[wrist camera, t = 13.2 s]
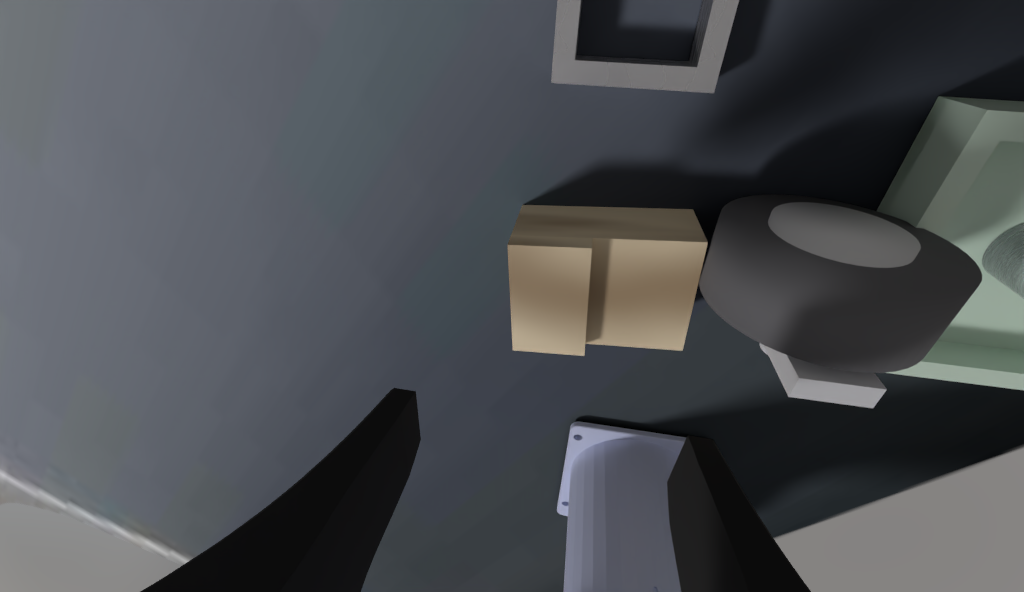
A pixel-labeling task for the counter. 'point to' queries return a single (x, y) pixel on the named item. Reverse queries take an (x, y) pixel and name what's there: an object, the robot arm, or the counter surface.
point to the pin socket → (645, 72)
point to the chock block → (603, 277)
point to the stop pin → (1007, 259)
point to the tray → (969, 229)
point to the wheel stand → (833, 291)
